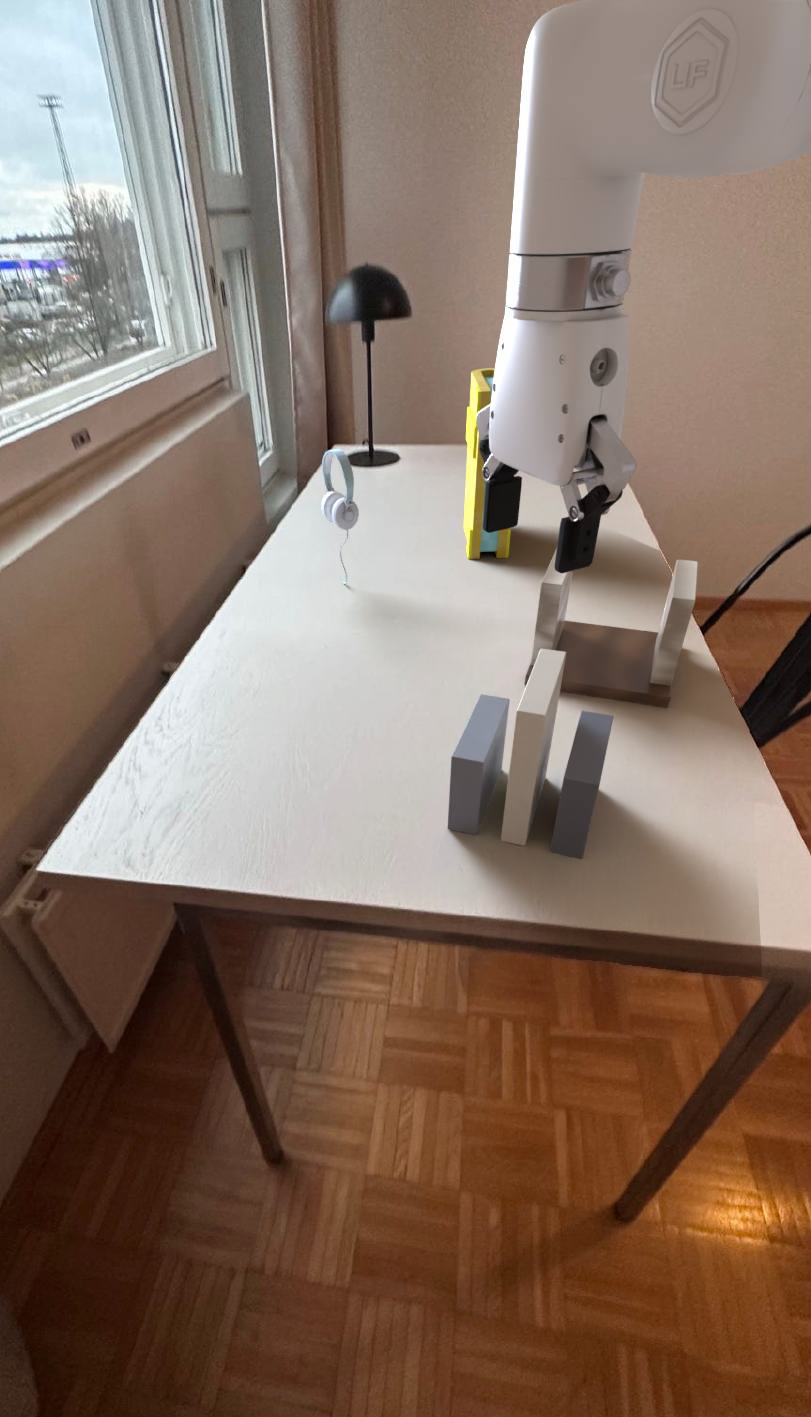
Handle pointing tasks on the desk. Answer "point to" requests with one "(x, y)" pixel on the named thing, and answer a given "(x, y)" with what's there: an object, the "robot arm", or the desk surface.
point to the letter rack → (615, 643)
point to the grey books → (482, 765)
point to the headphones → (339, 495)
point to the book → (479, 475)
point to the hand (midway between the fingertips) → (534, 547)
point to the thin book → (532, 745)
